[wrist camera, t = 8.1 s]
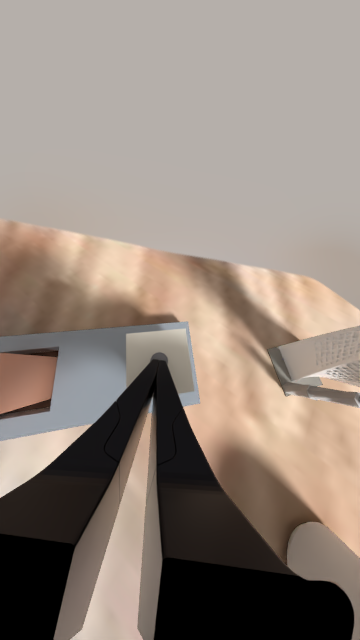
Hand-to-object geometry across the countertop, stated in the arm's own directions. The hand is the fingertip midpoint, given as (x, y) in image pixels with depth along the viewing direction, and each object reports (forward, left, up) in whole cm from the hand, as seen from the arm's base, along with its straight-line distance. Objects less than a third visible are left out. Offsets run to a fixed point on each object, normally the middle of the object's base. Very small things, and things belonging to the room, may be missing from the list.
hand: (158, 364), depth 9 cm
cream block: (0, 0, -8) cm, 8 cm away
